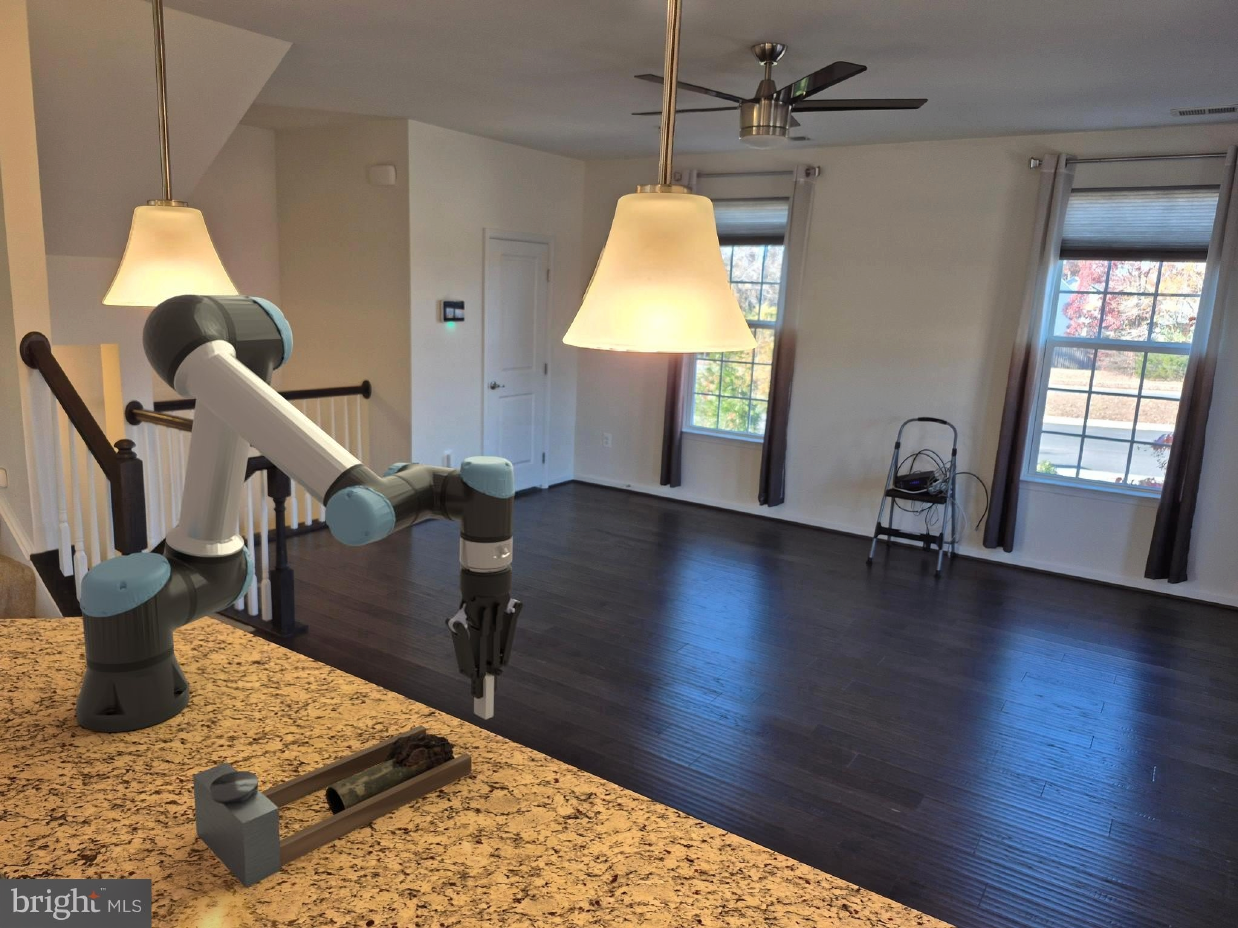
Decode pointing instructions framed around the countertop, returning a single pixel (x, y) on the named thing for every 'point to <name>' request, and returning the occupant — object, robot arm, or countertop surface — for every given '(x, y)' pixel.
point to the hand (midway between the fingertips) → (483, 714)
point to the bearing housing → (237, 822)
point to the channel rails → (365, 810)
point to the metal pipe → (391, 770)
